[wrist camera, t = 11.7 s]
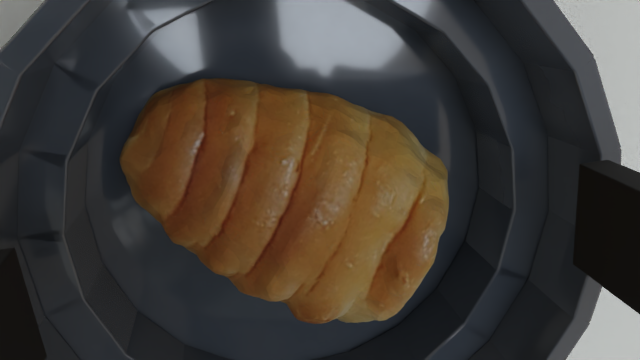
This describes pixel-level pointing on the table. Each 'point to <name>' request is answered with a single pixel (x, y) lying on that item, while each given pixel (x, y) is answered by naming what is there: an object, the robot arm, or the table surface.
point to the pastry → (291, 194)
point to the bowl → (315, 76)
